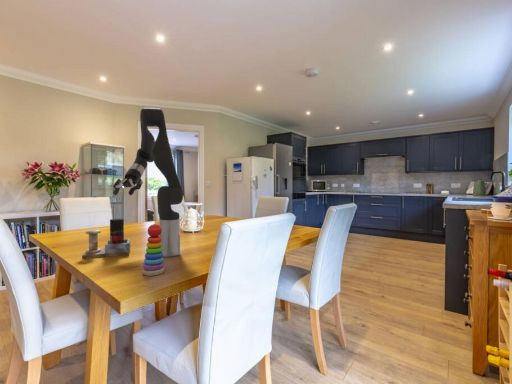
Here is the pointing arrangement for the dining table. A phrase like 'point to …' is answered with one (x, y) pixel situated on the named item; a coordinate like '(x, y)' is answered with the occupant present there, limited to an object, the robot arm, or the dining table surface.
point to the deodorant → (116, 231)
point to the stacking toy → (153, 252)
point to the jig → (109, 248)
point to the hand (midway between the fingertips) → (122, 194)
